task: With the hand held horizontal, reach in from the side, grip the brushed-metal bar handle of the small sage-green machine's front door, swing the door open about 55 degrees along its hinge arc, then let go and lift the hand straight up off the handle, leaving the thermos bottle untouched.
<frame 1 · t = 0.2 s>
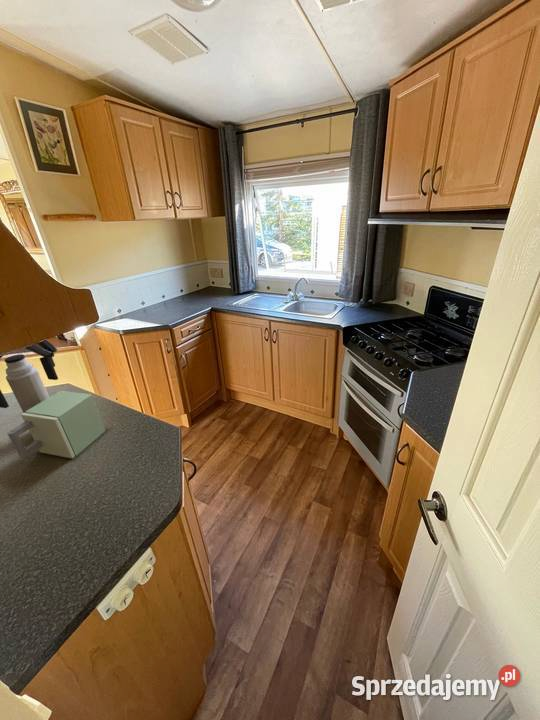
hand: (30, 391, 76), 25 cm above the countertop, tool pointing down, fingers open, 13 cm apart
machine door: (39, 442, 84), point 7 cm above the countertop, hinge at 0.0°
thermos bottle: (48, 429, 102), on the countertop
machine: (76, 440, 96), on the countertop
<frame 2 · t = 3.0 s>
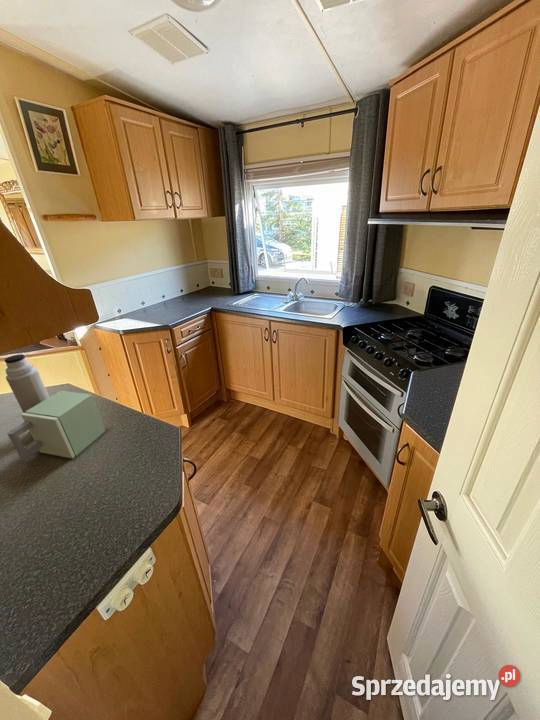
nothing on the countertop moved.
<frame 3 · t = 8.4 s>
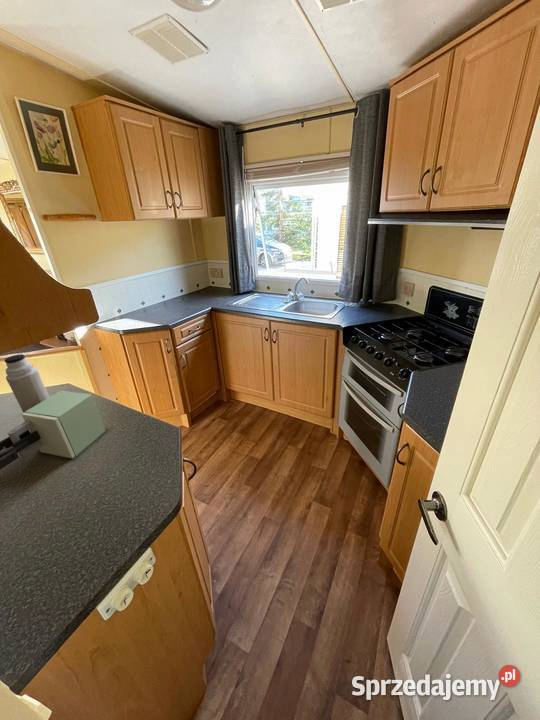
hand: (33, 432, 86), 8 cm above the countertop, tool horizontal, fingers open, 4 cm apart
machine door: (39, 442, 84), point 7 cm above the countertop, hinge at -0.6°, touching gripper
everything else where it was.
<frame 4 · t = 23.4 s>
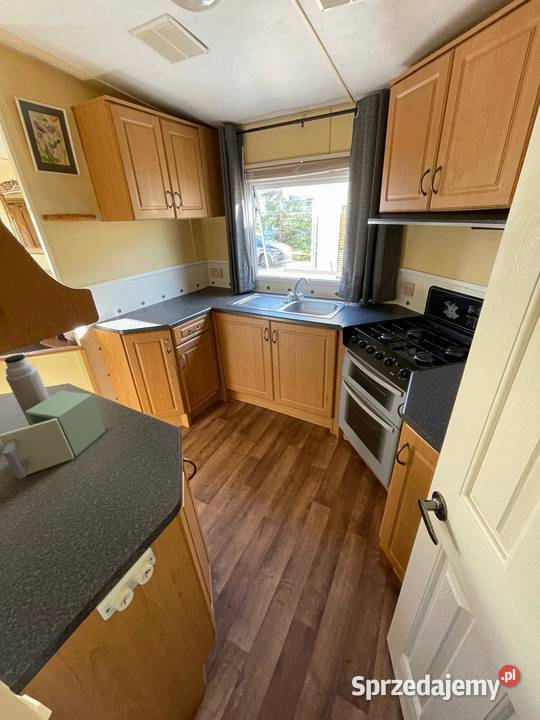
machine door: (37, 453, 80), point 7 cm above the countertop, hinge at 45.2°
everything else where it was.
at the end: machine door at +45° (first picture: +0°); thermos bottle moved 0.2 cm from its start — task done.
